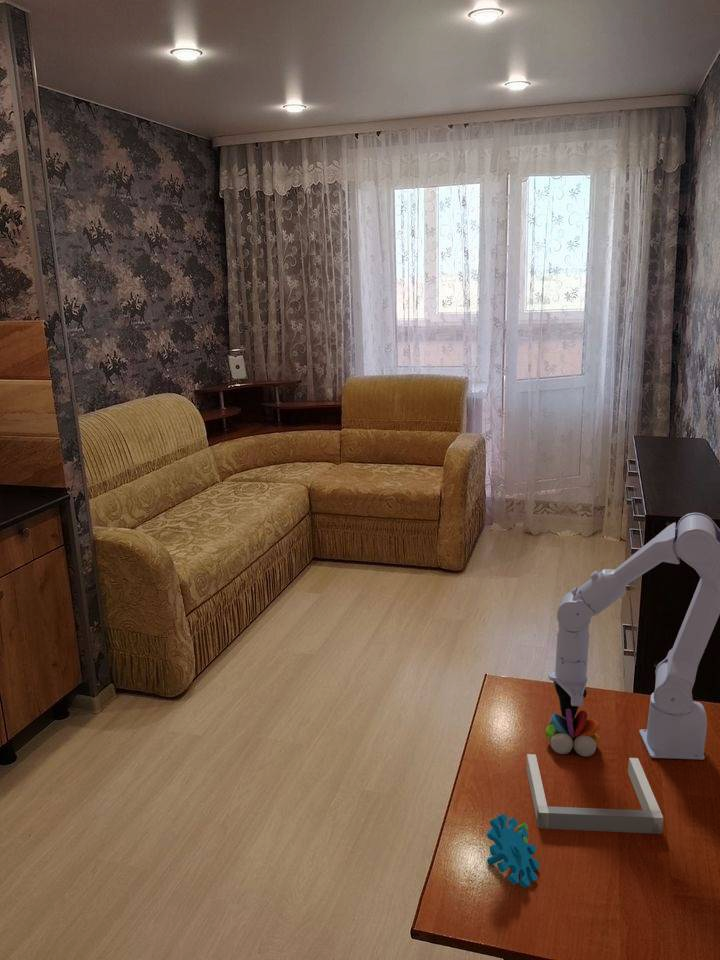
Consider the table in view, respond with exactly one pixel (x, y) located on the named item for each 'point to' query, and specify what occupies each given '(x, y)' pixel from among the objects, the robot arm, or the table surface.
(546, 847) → the table surface
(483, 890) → the table surface
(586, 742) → the rainbow petal cluster
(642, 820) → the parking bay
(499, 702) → the table surface
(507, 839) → the teal knobby piece
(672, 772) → the table surface
